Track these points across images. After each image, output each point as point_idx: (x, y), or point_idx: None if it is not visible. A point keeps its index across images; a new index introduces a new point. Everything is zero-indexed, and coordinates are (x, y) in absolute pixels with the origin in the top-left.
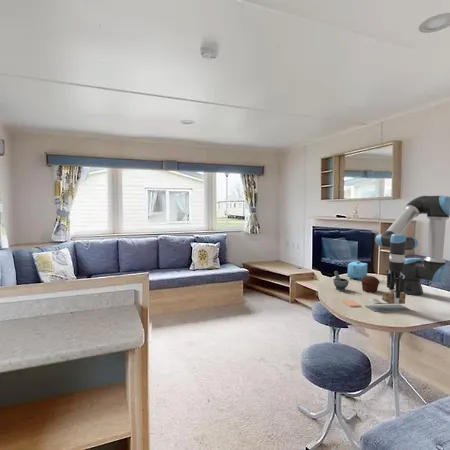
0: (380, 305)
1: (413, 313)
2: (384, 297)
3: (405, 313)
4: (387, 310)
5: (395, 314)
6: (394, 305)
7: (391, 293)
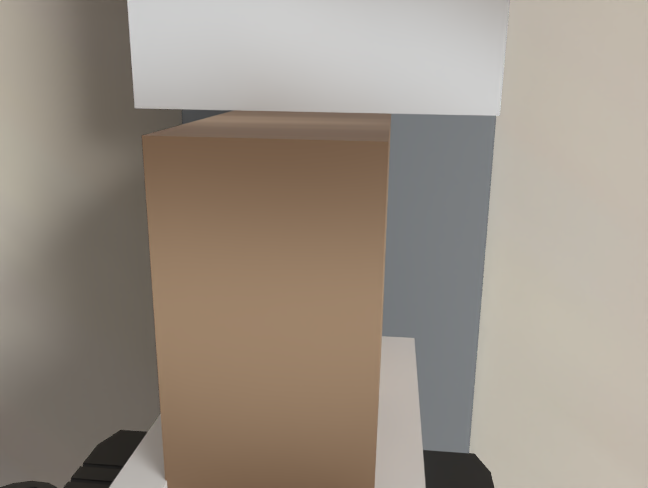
0: (472, 130)
1: (55, 465)
2: (278, 118)
3: (54, 337)
4: None
5: (2, 116)
6: (424, 426)
7: (159, 371)
